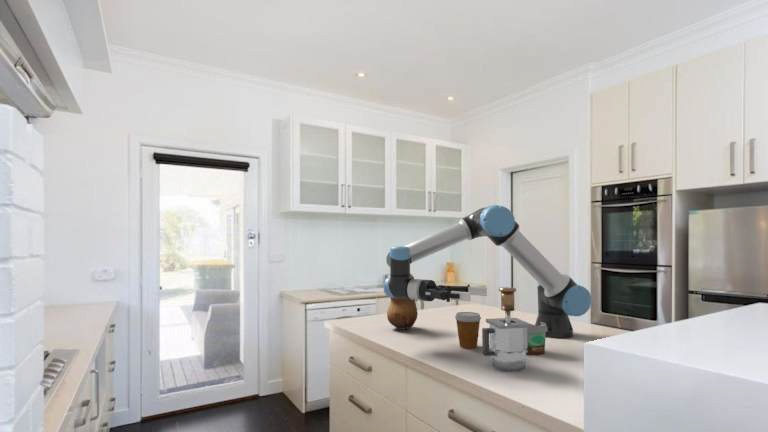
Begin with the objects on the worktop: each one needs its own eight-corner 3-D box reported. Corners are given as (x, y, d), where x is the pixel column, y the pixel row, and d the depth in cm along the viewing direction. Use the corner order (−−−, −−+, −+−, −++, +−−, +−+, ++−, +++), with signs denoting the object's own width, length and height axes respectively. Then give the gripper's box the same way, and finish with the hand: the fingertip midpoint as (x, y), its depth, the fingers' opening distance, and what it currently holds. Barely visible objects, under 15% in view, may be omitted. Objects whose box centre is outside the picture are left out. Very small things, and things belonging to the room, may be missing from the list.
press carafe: (516, 360, 137) (515, 317, 137) (532, 371, 126) (531, 324, 127) (477, 363, 135) (477, 319, 135) (490, 373, 124) (490, 325, 125)
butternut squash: (382, 327, 187) (381, 271, 189) (407, 324, 194) (406, 270, 195) (398, 333, 175) (397, 274, 176) (424, 330, 182) (423, 272, 183)
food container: (530, 358, 140) (529, 328, 140) (516, 353, 145) (516, 324, 145) (556, 353, 145) (555, 324, 146) (542, 349, 151) (541, 321, 151)
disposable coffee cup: (481, 350, 149) (481, 316, 150) (454, 349, 151) (454, 315, 152) (481, 343, 159) (480, 312, 159) (455, 342, 160) (455, 311, 161)
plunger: (514, 340, 135) (513, 286, 136) (525, 347, 128) (524, 289, 129) (492, 341, 134) (491, 287, 135) (502, 348, 127) (501, 290, 128)
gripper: (439, 296, 160) (492, 300, 148) (404, 305, 140) (462, 311, 128) (439, 276, 161) (492, 279, 148) (403, 283, 141) (461, 286, 128)
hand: (478, 294), depth 138 cm, fingers open, 13 cm apart
